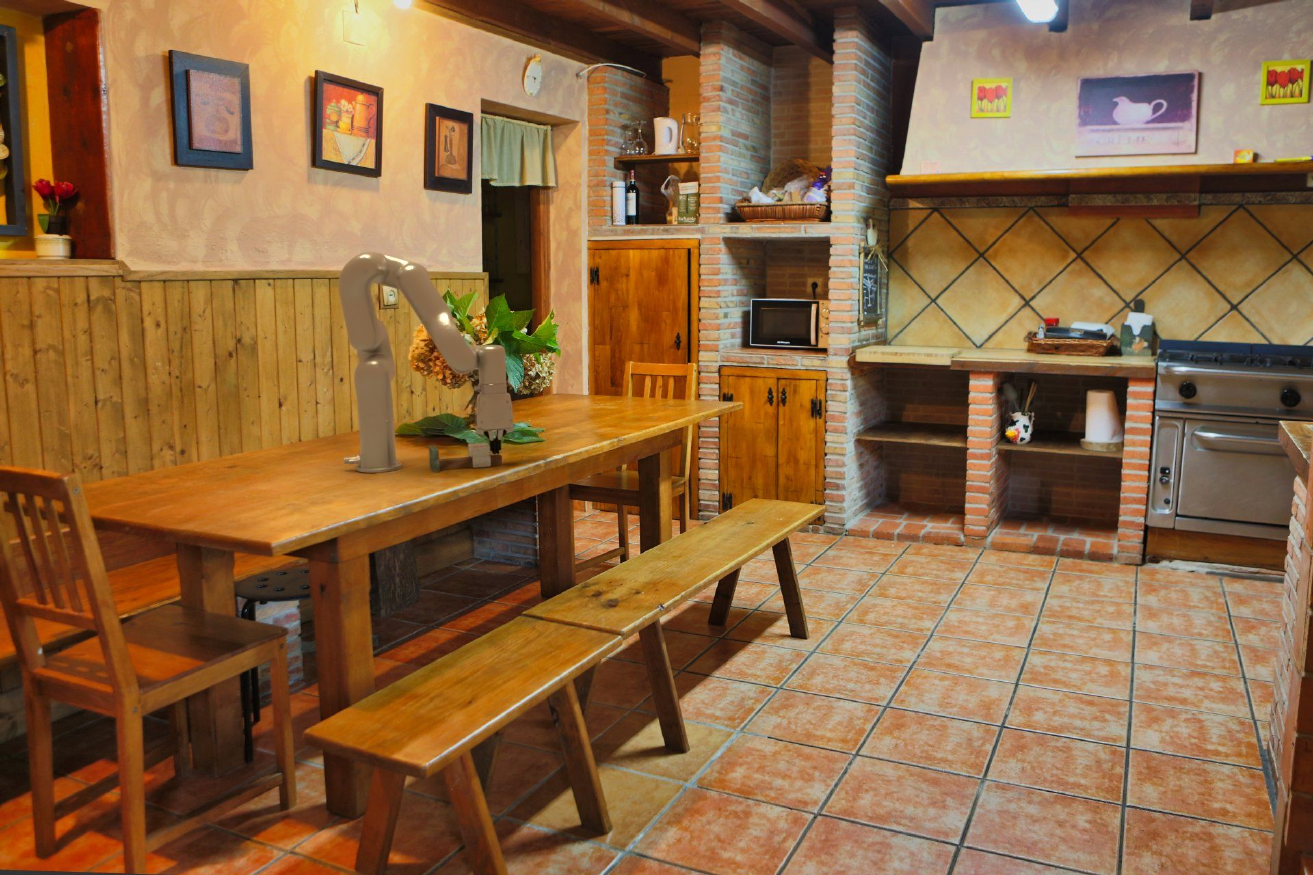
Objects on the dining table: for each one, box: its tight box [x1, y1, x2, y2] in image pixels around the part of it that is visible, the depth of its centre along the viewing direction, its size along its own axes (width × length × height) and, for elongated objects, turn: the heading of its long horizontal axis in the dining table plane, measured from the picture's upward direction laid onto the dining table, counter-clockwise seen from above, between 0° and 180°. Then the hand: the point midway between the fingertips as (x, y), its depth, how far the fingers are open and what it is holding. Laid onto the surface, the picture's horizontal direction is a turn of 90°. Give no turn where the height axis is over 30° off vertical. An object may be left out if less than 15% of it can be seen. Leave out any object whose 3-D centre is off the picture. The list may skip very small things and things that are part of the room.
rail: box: [428, 445, 503, 473], centre depth 292 cm, size 20×8×6 cm, turn 110°
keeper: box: [467, 441, 492, 469], centre depth 293 cm, size 5×7×6 cm
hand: (495, 453), depth 295 cm, fingers closed
